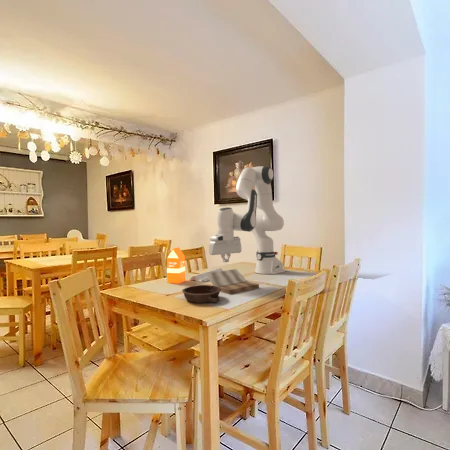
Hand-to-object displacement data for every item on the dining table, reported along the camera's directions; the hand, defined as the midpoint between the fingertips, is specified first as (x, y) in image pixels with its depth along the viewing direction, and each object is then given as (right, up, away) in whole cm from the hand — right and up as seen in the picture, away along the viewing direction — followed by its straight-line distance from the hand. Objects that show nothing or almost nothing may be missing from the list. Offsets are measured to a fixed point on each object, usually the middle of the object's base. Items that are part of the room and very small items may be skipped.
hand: (225, 262), depth 162 cm
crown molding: (-10, -13, +27) cm, 31 cm away
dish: (-11, -14, -26) cm, 31 cm away
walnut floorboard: (+7, -13, -8) cm, 17 cm away
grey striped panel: (+1, -10, 0) cm, 10 cm away
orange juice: (-29, -13, +13) cm, 35 cm away
